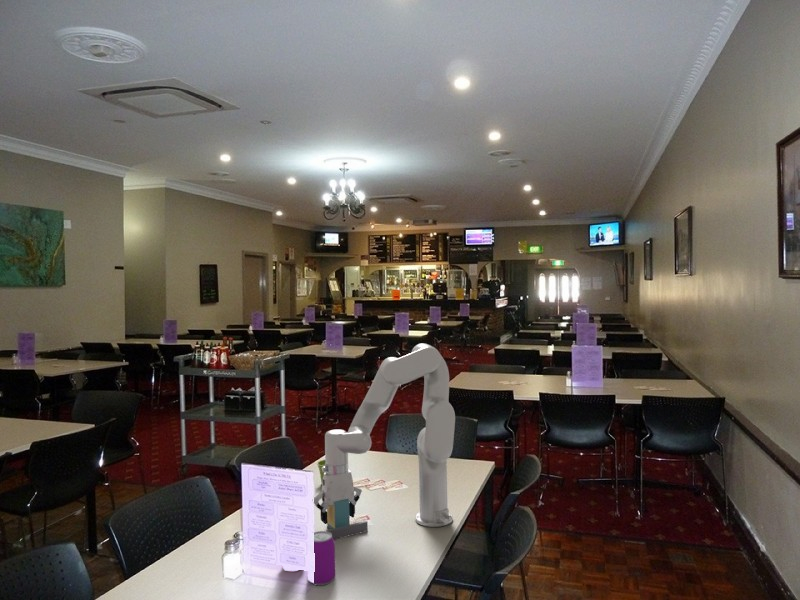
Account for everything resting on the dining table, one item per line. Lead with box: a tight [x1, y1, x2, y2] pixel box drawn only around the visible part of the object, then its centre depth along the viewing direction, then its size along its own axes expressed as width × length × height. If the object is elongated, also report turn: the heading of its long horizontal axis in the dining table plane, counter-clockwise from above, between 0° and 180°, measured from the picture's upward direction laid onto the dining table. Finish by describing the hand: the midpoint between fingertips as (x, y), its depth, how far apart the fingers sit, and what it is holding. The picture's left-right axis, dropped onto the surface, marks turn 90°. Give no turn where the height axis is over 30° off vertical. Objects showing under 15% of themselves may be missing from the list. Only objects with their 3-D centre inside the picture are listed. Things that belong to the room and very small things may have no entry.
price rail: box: [325, 520, 369, 541], centre depth 186 cm, size 4×14×3 cm, turn 120°
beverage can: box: [313, 530, 336, 586], centre depth 156 cm, size 8×8×12 cm
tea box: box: [326, 499, 351, 530], centre depth 191 cm, size 5×7×10 cm
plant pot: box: [316, 459, 325, 484], centre depth 235 cm, size 9×9×9 cm
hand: (338, 519), depth 191 cm, fingers open, 9 cm apart
